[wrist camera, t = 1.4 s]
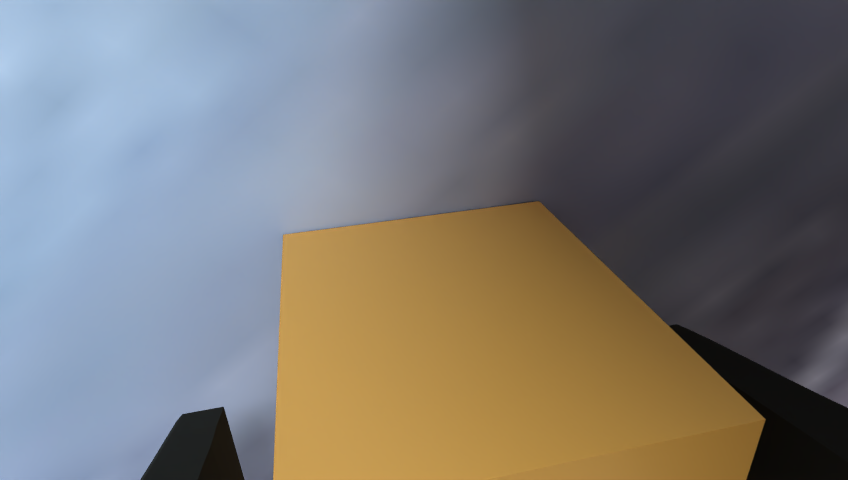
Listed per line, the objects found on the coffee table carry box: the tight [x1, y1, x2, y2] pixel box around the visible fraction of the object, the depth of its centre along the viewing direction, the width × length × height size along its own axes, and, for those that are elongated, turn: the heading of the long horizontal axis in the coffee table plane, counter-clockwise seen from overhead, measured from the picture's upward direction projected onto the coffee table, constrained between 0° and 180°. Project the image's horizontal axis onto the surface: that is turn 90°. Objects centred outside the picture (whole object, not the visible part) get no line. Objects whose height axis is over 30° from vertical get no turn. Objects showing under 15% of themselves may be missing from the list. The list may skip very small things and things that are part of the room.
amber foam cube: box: [273, 201, 766, 480], centre depth 9 cm, size 5×5×6 cm
